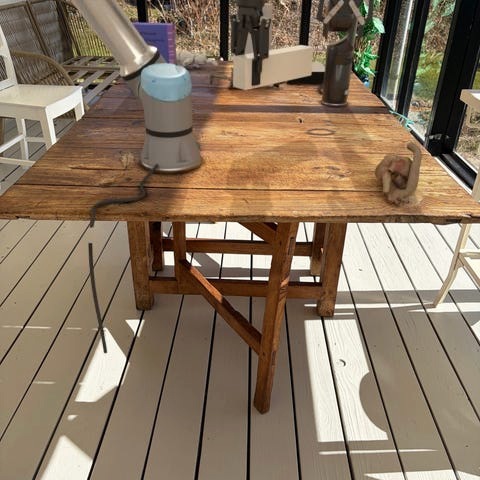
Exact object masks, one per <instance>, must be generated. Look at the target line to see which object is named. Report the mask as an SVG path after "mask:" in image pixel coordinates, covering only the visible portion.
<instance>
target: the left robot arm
mask: <svg viewBox="0 0 480 480" xmlns="http://www.w3.org/2000/svg"><path fill="white" fill-rule="evenodd" d="M70 1H71V3H72V4H73V6H74V7H75V8H76V10H77V11H78V12H79V13H80V15H81V16H82V17H83V18H84V20H85V21H86V22H87V24H88V25H89V27H90V28H91V29H92V30H93V32H94V33H95V34H96V36H97V37H98V38H99V40H100V41H101V43H102V44H103V45H104V47H106V50H108V52H109V53H110V54H111V56H112V57H113V58H114V60H115V61H116V62H117V63H118V65H119V67H120V68H119V75H120V77H121V78H122V79H123V81H124V83H126V85H127V87H129V89H130V91H132V93H133V95H134V96H135V97H136V99H138V101H139V102H140V104H141V105H142V106H143V115H144V125H145V138H144V142H143V146H142V150H141V154H140V162H141V166H142V168H144V169H145V170H146V171H149V172H148V173H147V174H146V175H145V176H144V177H143V178H142V180H141V181H140V182H139V189H140V191H141V194H140V195H138V196H135V197H125V198H108V199H104V200H100V201H98V202H96V203H94V204H93V205H92V206H91V208H90V222H89V229H92V228H94V227H95V220H96V209H97V208H99V207H101V206H103V205H106V204H112V203H132V202H138V201H140V200H142V199H144V198H145V197H146V195H147V192H146V189H145V188H144V185H145V183H146V181H148V179H149V178H151V176H152V175H153V174H154V173H156V174H163V175H164V174H165V175H169V174H170V175H172V174H173V175H175V174H182V173H187V172H190V171H193V170H195V169H197V168H198V167H199V166H201V163H202V155H201V151H202V145H201V144H200V143H199V142H197V140H196V137H195V135H194V130H193V129H194V126H193V99H192V98H193V97H192V89H193V83H192V80H191V74H190V72H189V70H188V69H186V68H185V67H183V66H182V65H177V66H176V65H175V64H167V62H166V61H165V59H164V58H163V57H162V55H161V54H160V52H159V51H158V49H157V48H156V47H154V46H149V45H147V44H146V42H145V41H144V40H143V38H142V37H141V35H140V34H139V32H138V31H137V30H136V28H135V27H134V25H133V24H132V22H133V21H131V20H130V18H129V16H128V15H127V14H126V13H125V11H124V10H123V8H122V7H121V5H120V4H119V2H118V1H117V0H70ZM265 3H266V0H235V7H236V6H238V11H237V13H236V12H235V13H231V14H230V15H229V20H230V21H229V22H230V53H231V54H234V56H238V55H244V54H245V48H246V43H247V38H248V33H250V34H251V39H252V46H253V53H254V59H252V60H253V61H252V83H251V85H252V86H255V85H260V76H261V73H262V61H263V60H264V59H267V58H268V57H269V28H270V24H271V19H270V18H266V17H264V16H263V11H262V8H263V7H264V5H265ZM255 29H257V30H255ZM258 55H259V56H258ZM87 246H88V249H87V251H88V266H89V277H90V284H91V286H90V287H91V293H92V298H93V299H92V300H93V303H94V309H95V314H96V319H97V324H98V329H99V334H100V338H101V344H102V350H103V354H107V353H108V348H107V340H106V336H105V331H104V325H103V320H102V315H101V310H100V305H99V300H98V294H97V293H98V292H97V287H96V279H95V270H94V269H95V268H94V256H93V255H94V251H93V242H88V245H87Z"/></svg>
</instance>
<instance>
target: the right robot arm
mask: <svg viewBox="0 0 480 480" xmlns="http://www.w3.org/2000/svg"><path fill="white" fill-rule="evenodd" d="M363 2H364V3H365V6H366V7H367V15H366V16H367V17H363V15H362V13H361V11H360V6H362V4H363ZM324 6H326V12H325V16H323V12H324ZM374 6H375V0H318V7H317V15H316V20H317V21H318V22H321V23H322V25H323V26H322V33H321V34H322V35H321V36H322V37H324V40H328V36H329V32H330V33H344V34H346V35H345V36H344V37H343V38H341V39H338V40H337V41H333V42H330V43H328V44H327V46H326V53H325V64H324V66H325V72H324V82H321V84H319V86H318V88H317V90H318V92H319V94H320V95H321V100H320V101H321V102H320V103H321V104H323V105H326V106H330V107H343V106H347V105H348V97H349V94H350V83H351V82H350V81H351V76H352V75H351V74H352V67H353V58H354V52H355V51H354V50H355V42H356V41H361V39H363V37H364V31H365V26H366V25H367V24H370V23H372V22H373V17H374ZM356 34H357V36H356Z"/></svg>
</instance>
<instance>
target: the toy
mask: <svg viewBox="0 0 480 480" xmlns="http://www.w3.org/2000/svg"><path fill="white" fill-rule="evenodd" d="M176 61H177V63H179V64H180V66H182V67H184V68H185V67H187V66H188V67H189V66H191V65H192V64H193V67H195V68H196V69H201V66H204V65H207V64H212V65H213V66H214V67H216V68H217V67H218V66H219V63H218V62H217V61H216V60H215V59H213V58H207V56H206V55H205V54H202V53H201V51H197V52H196V53H193V52H190V51H187V50H184V51H176Z"/></svg>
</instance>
